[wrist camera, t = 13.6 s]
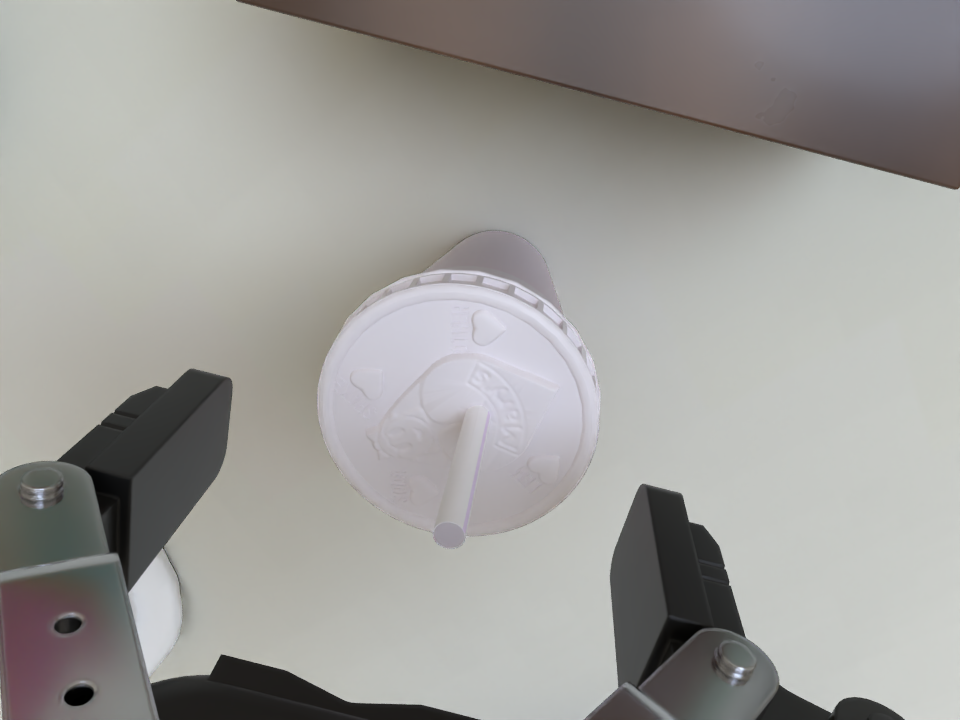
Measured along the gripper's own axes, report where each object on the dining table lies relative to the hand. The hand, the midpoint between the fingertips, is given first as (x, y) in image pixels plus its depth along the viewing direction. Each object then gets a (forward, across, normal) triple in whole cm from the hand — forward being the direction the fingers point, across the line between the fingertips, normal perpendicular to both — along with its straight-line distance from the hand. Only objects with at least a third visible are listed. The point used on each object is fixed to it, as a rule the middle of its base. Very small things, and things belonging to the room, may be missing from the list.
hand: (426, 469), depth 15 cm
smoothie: (+12, 0, 0) cm, 12 cm away
